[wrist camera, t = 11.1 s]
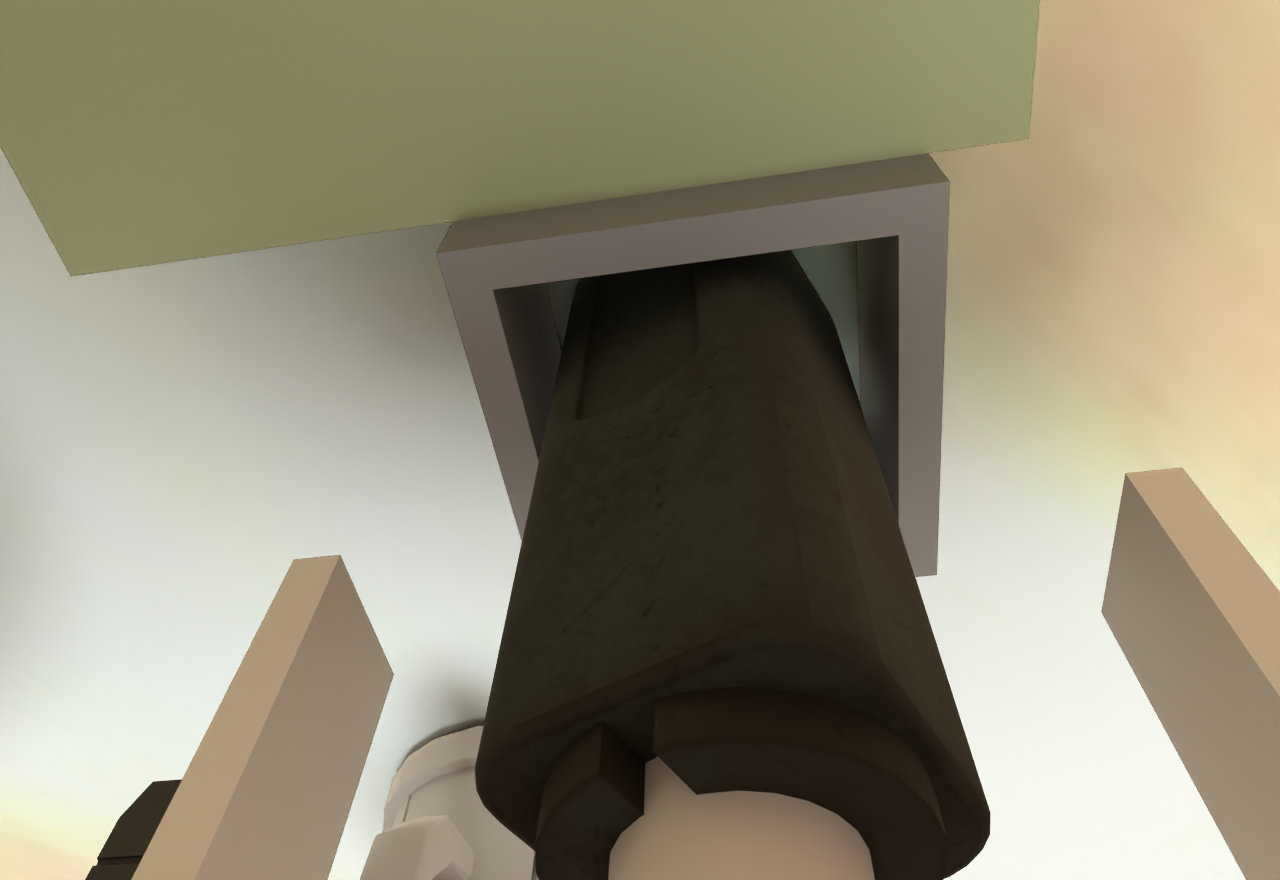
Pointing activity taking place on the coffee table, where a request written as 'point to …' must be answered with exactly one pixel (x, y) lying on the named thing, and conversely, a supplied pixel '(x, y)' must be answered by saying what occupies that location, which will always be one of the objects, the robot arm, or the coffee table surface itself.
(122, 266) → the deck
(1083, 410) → the coffee table surface
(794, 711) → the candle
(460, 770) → the cup
